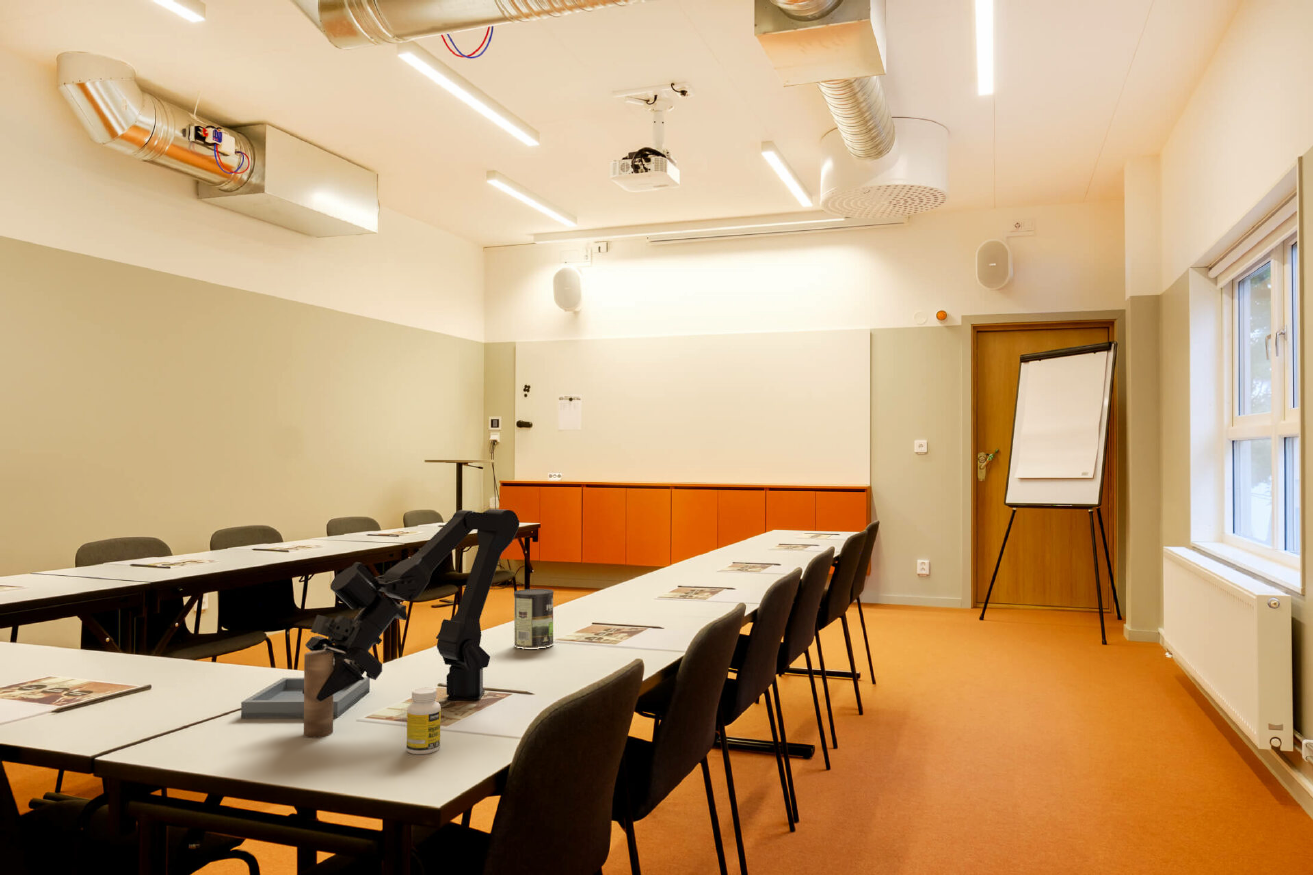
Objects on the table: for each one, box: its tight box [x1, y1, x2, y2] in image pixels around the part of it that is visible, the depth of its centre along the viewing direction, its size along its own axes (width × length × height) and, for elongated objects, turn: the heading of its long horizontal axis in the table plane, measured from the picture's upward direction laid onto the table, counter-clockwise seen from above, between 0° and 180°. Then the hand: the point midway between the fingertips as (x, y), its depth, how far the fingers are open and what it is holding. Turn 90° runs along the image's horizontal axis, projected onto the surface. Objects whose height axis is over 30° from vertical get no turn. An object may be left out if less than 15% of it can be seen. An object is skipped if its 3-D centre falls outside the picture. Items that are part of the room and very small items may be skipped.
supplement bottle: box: [406, 687, 442, 755], centre depth 141 cm, size 5×5×10 cm
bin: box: [240, 676, 371, 719], centre depth 168 cm, size 18×18×3 cm
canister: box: [303, 650, 334, 739], centre depth 150 cm, size 5×5×14 cm
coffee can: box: [513, 588, 555, 648], centre depth 221 cm, size 10×10×14 cm
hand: (311, 697), depth 149 cm, fingers closed on canister, 5 cm apart
